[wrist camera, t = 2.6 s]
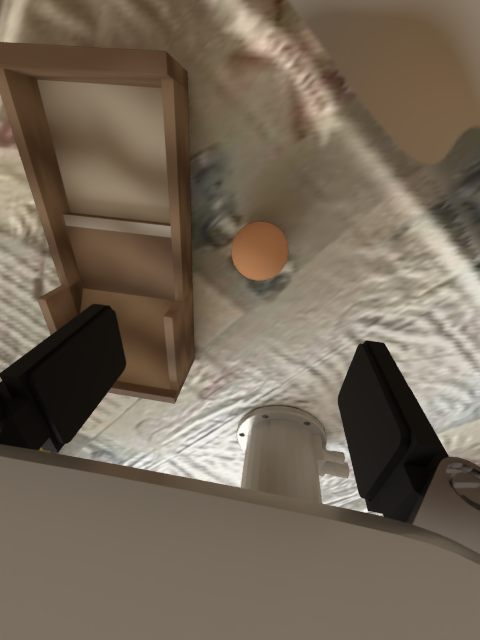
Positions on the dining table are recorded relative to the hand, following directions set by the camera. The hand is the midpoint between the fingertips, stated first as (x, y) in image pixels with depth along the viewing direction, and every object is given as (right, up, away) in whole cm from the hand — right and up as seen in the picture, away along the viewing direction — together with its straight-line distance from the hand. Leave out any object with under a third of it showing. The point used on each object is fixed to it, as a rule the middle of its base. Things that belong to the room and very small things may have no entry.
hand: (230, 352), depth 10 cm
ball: (+2, +7, +12) cm, 14 cm away
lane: (-11, +8, +16) cm, 21 cm away
